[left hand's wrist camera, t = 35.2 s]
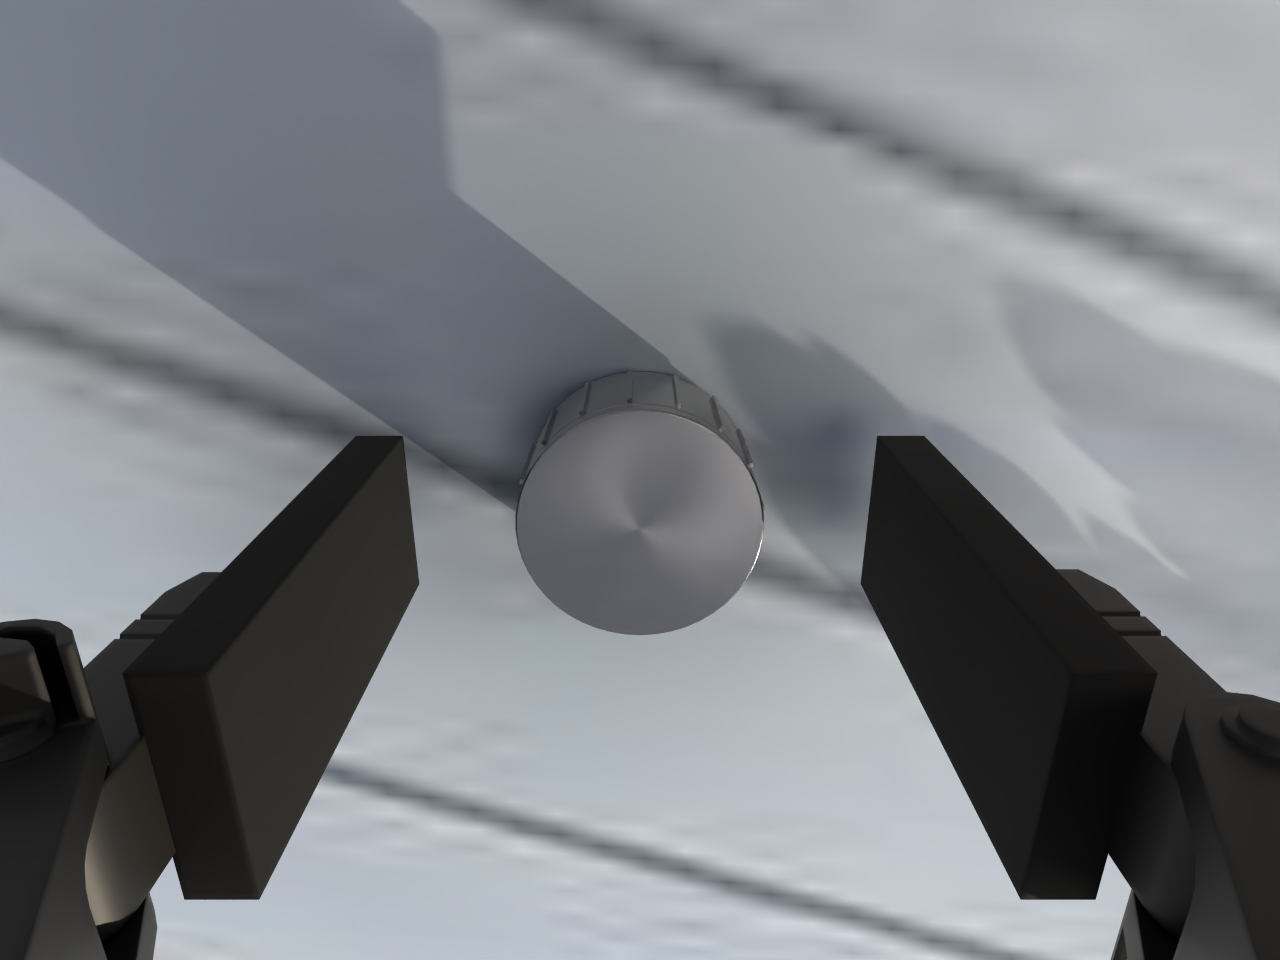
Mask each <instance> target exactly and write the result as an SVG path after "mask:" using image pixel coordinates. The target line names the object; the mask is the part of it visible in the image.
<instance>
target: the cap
mask: <svg viewBox="0 0 1280 960" xmlns="http://www.w3.org/2000/svg"><path fill="white" fill-rule="evenodd" d="M752 467H754V464H753V461H752V459H751V456H750V453H749V450H748V447H747V445H746V442H745V439H744V436H743V434H742V431H741V429H738V430H737V428H736V426H735V424H734V423H733V421H732V420H731V418H730V417H729V415H728V414H727V412H726V411H725V410H724V409H723V408H722V407H721V406H720V405H719V404H718V402H717V398H716V397H715V396H712V397H711V396H709V395H708V394H707V393H706V392H704V391H703V390H701V389H699V388H698V387H696V386H695V385H693V384H691V383H688V382H686V381H684V380H682V379H679V378H678V376H677V375H673V376H670V375H666V374H660V373H655V372H640V371H637V372H633V370H628V372H624V373H619V374H614V375H609V376H606V377H603V378H601V379H598V380H595V381H593V382H591V383H590V382H589V381H588V382H586V383H585V385H584V386H583V387H581V388H580V389H578V390H577V391H575V392H574V393H573V394H571V395H570V396H569V397H568V398H566V399H565V400H564V401H563V402H562V403H561V404H560V405H559V406H558V407H557V408H556V409H555V408H553V409H552V410H551V412H550V415H549V418H548V421H547V422H546V424H545V425H544V427H543V429H542V431H541V434H540V436H539V438H538V441H537V443H536V445H535V444H533V445H532V448H531V450H530V453H529V456H528V459H527V461H526V464H525V467H524V470H523V472H522V475H521V478H520V481H519V484H522V486H521V490H520V493H519V497H518V500H517V507H516V514H515V518H516V536H517V543H518V547H519V550H520V553H521V557H522V559H523V562H524V564H525V566H526V568H527V570H528V572H529V574H530V575H531V577H532V579H533V580H534V582H535V583H536V585H537V586H538V587H539V588H540V590H541V591H542V592H543V593H544V594H545V596H546V597H548V598H549V599H550V600H551V601H552V602H553V603H554V604H555V605H556V606H557V607H559V608H560V609H562V610H563V611H564V612H566V613H567V614H568V615H570V616H572V617H574V618H576V619H577V620H579V621H581V622H583V623H586V624H588V625H591V626H593V627H595V628H599V629H602V630H606V631H610V632H615V633H621V634H632V635H648V634H659V633H664V632H670V631H674V630H677V629H680V628H684V627H687V626H689V625H691V624H694V623H696V622H698V621H700V620H702V619H704V618H706V617H707V616H709V615H711V614H712V613H714V612H715V611H717V610H718V609H719V608H720V607H722V606H723V605H724V604H726V603H727V602H728V601H729V600H730V599H731V598H732V597H733V596H734V595H735V594H736V593H737V591H738V590H739V589H740V588H741V586H742V585H743V584H744V582H745V581H746V579H747V578H748V576H749V574H750V573H751V571H752V569H753V567H754V565H755V562H756V560H757V558H758V555H759V551H760V548H761V544H762V539H763V531H764V505H763V502H762V499H761V495H760V492H759V489H758V486H757V483H756V480H755V477H754V474H753V471H752Z"/></svg>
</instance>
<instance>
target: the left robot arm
mask: <svg viewBox="0 0 1280 960" xmlns="http://www.w3.org/2000/svg"><path fill="white" fill-rule="evenodd" d="M418 585H419V578H418V569H417V560H416V551H415V542H414V533H413V524H412V515H411V506H410V497H409V488H408V479H407V470H406V461H405V452H404V443H403V436H356V437H355V438H354V439H353V440H352V441H351V442H350V443H349V444H348V445H347V446H346V447H345V448H344V449H343V450H342V451H341V452H340V453H339V454H338V455H337V456H336V457H335V458H334V459H333V460H332V461H331V462H330V463H329V464H328V465H327V466H326V467H325V468H324V469H323V470H322V471H321V472H320V473H319V474H318V475H317V476H316V477H315V478H314V479H313V480H312V481H311V482H310V483H309V484H308V485H307V486H306V487H305V488H304V489H303V490H302V491H301V492H300V493H299V494H298V495H297V496H296V497H295V498H294V499H293V500H292V501H291V502H290V503H289V504H288V505H287V506H286V507H285V508H284V510H283V511H282V512H281V513H280V514H279V515H278V516H277V517H276V518H275V519H274V520H273V521H272V522H271V523H270V524H269V525H268V526H267V527H266V528H265V529H264V530H263V531H262V532H261V533H260V534H259V535H258V536H257V537H256V538H255V539H254V540H253V541H252V542H251V543H250V544H249V545H248V546H247V547H246V548H245V549H244V550H243V551H242V552H241V553H240V554H239V555H238V556H237V557H236V558H235V559H234V560H233V561H232V562H231V563H230V564H229V565H228V566H227V567H226V568H225V569H224V570H223V571H222V572H202V573H200V574H198V575H196V576H194V577H192V578H190V579H189V580H187V581H185V582H183V583H181V584H179V585H177V586H175V587H174V588H172V589H170V590H168V591H166V592H165V593H164V594H163V595H161V596H160V597H159V598H158V599H157V600H156V601H155V602H154V603H153V604H152V605H151V606H150V607H149V608H148V609H146V610H145V611H144V612H143V613H142V614H141V618H140V620H135V621H134V622H133V623H131V624H130V625H129V626H128V627H127V628H126V629H125V630H124V631H123V632H122V633H121V634H120V639H114V640H113V641H112V642H111V643H110V644H109V645H108V646H107V647H106V648H105V649H104V650H103V651H102V652H100V653H99V654H98V655H97V656H96V657H95V658H94V659H93V660H92V661H91V662H90V663H89V664H88V665H87V666H85V667H84V668H83V665H82V662H81V659H80V655H79V652H78V649H77V645H76V642H75V638H74V635H73V632H72V630H71V629H70V628H68V627H66V626H65V625H63V624H62V623H60V622H57V621H48V620H40V619H29V620H18V621H7V622H1V623H0V960H153V954H154V947H155V940H156V933H157V923H156V916H155V910H154V906H153V903H152V900H151V896H150V893H149V891H150V890H151V888H152V887H153V885H154V884H155V882H156V881H157V879H158V878H159V876H160V875H161V873H162V872H163V870H164V869H165V867H166V866H167V864H168V863H169V861H170V860H171V858H172V857H173V860H174V863H175V867H176V870H177V874H178V878H179V881H180V885H181V889H182V892H183V896H184V900H259V899H260V897H261V895H262V893H263V891H264V889H265V887H266V885H267V883H268V881H269V879H270V877H271V875H272V873H273V871H274V869H275V867H276V865H277V863H278V861H279V859H280V858H281V856H282V854H283V852H284V850H285V848H286V846H287V844H288V842H289V840H290V838H291V836H292V834H293V832H294V830H295V828H296V826H297V824H298V822H299V820H300V818H301V816H302V814H303V812H304V810H305V808H306V806H307V804H308V802H309V800H310V798H311V796H312V794H313V792H314V790H315V788H316V787H317V785H318V783H319V781H320V779H321V777H322V775H323V773H324V771H325V769H326V767H327V765H328V763H329V761H330V759H331V757H332V755H333V753H334V751H335V749H336V747H337V745H338V743H339V741H340V739H341V737H342V735H343V733H344V731H345V729H346V727H347V725H348V723H349V721H350V719H351V717H352V715H353V714H354V712H355V710H356V708H357V706H358V704H359V702H360V700H361V698H362V696H363V694H364V692H365V690H366V688H367V686H368V684H369V682H370V680H371V678H372V676H373V674H374V672H375V670H376V668H377V666H378V664H379V662H380V660H381V658H382V656H383V654H384V652H385V650H386V648H387V646H388V644H389V643H390V641H391V639H392V637H393V635H394V633H395V631H396V629H397V627H398V625H399V623H400V621H401V619H402V617H403V615H404V613H405V611H406V609H407V607H408V605H409V603H410V601H411V599H412V597H413V595H414V593H415V591H416V589H417V587H418ZM861 585H862V587H863V589H864V591H865V593H866V595H867V597H868V599H869V601H870V603H871V605H872V607H873V609H874V611H875V613H876V615H877V617H878V619H879V621H880V623H881V625H882V627H883V629H884V631H885V633H886V635H887V637H888V639H889V641H890V643H891V645H892V646H893V648H894V650H895V652H896V654H897V656H898V658H899V660H900V662H901V664H902V666H903V668H904V670H905V672H906V674H907V676H908V678H909V680H910V682H911V684H912V686H913V688H914V690H915V692H916V694H917V696H918V698H919V700H920V702H921V704H922V706H923V708H924V710H925V712H926V714H927V716H928V718H929V719H930V721H931V723H932V725H933V727H934V729H935V731H936V733H937V735H938V737H939V739H940V741H941V743H942V745H943V747H944V749H945V751H946V753H947V755H948V757H949V759H950V761H951V763H952V765H953V767H954V769H955V771H956V773H957V775H958V777H959V779H960V781H961V783H962V785H963V787H964V789H965V790H966V792H967V794H968V796H969V798H970V800H971V802H972V804H973V806H974V808H975V810H976V812H977V814H978V816H979V818H980V820H981V822H982V824H983V826H984V828H985V830H986V832H987V834H988V836H989V838H990V840H991V842H992V844H993V846H994V848H995V850H996V852H997V854H998V856H999V858H1000V860H1001V862H1002V863H1003V865H1004V867H1005V869H1006V871H1007V873H1008V875H1009V877H1010V879H1011V881H1012V883H1013V885H1014V887H1015V889H1016V891H1017V893H1018V895H1019V897H1020V899H1021V900H1096V896H1097V892H1098V889H1099V885H1100V881H1101V878H1102V874H1103V870H1104V867H1105V863H1106V859H1107V856H1108V854H1109V855H1110V857H1111V858H1112V860H1113V861H1114V863H1115V864H1116V866H1117V867H1118V869H1119V870H1120V872H1121V873H1122V875H1123V876H1124V878H1125V879H1126V881H1127V882H1128V884H1129V885H1130V887H1131V888H1132V889H1131V893H1130V896H1129V900H1128V903H1127V906H1126V910H1125V913H1124V917H1123V920H1122V923H1121V927H1120V930H1119V934H1118V937H1117V940H1116V944H1115V947H1114V950H1113V954H1112V957H1111V960H1280V703H1279V702H1275V701H1272V700H1268V699H1265V698H1261V697H1258V696H1254V695H1248V694H1239V693H1230V692H1226V691H1225V690H1224V689H1223V688H1222V687H1221V686H1220V685H1218V684H1217V683H1216V682H1215V681H1214V680H1213V679H1212V678H1211V677H1210V676H1209V675H1208V674H1207V673H1205V672H1204V671H1203V670H1202V669H1201V668H1200V667H1199V666H1198V665H1197V664H1196V663H1195V662H1194V661H1193V660H1191V659H1190V658H1189V657H1188V656H1187V655H1186V654H1185V653H1184V652H1183V651H1182V650H1181V649H1180V648H1179V647H1177V646H1176V645H1175V644H1174V643H1173V642H1172V641H1171V640H1170V639H1169V638H1168V637H1167V636H1161V631H1160V630H1159V629H1158V628H1157V627H1156V626H1155V625H1154V624H1153V623H1152V622H1150V621H1149V620H1148V619H1147V618H1146V617H1141V616H1140V611H1139V610H1138V609H1136V608H1135V607H1134V606H1133V605H1132V604H1131V603H1130V602H1129V601H1128V600H1127V599H1126V598H1125V597H1123V596H1122V595H1121V594H1120V593H1119V592H1118V591H1117V590H1116V589H1114V588H1113V587H1111V586H1109V585H1107V584H1105V583H1103V582H1101V581H1099V580H1097V579H1096V578H1094V577H1092V576H1090V575H1088V574H1086V573H1084V572H1082V571H1080V570H1079V569H1055V568H1054V567H1053V566H1052V565H1051V564H1050V563H1049V562H1048V561H1047V560H1046V559H1045V558H1044V557H1043V556H1042V555H1041V554H1040V553H1039V552H1038V551H1037V550H1036V549H1035V548H1034V547H1033V546H1032V545H1031V544H1030V543H1029V542H1028V541H1027V540H1026V539H1025V538H1024V537H1023V536H1022V535H1021V534H1020V533H1019V532H1018V531H1017V530H1016V529H1015V528H1014V527H1013V526H1012V525H1011V524H1010V523H1009V522H1008V521H1007V520H1006V519H1005V518H1004V517H1003V516H1002V515H1001V514H1000V513H999V512H998V511H997V510H996V509H995V507H994V506H993V505H992V504H991V503H990V502H989V501H988V500H987V499H986V498H985V497H984V496H983V495H982V494H981V493H980V492H979V491H978V490H977V489H976V488H975V487H974V486H973V485H972V484H971V483H970V482H969V481H968V480H967V479H966V478H965V477H964V476H963V475H962V474H961V473H960V472H959V471H958V470H957V469H956V468H955V467H954V466H953V465H952V464H951V463H950V462H949V461H948V460H947V459H946V458H945V457H944V456H943V455H942V454H941V453H940V452H939V451H938V450H937V449H936V448H935V447H934V446H933V445H932V444H931V443H930V442H929V441H928V440H927V439H926V438H925V437H924V436H877V443H876V452H875V461H874V470H873V479H872V488H871V497H870V506H869V515H868V524H867V533H866V542H865V551H864V560H863V568H862V577H861Z"/></svg>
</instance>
